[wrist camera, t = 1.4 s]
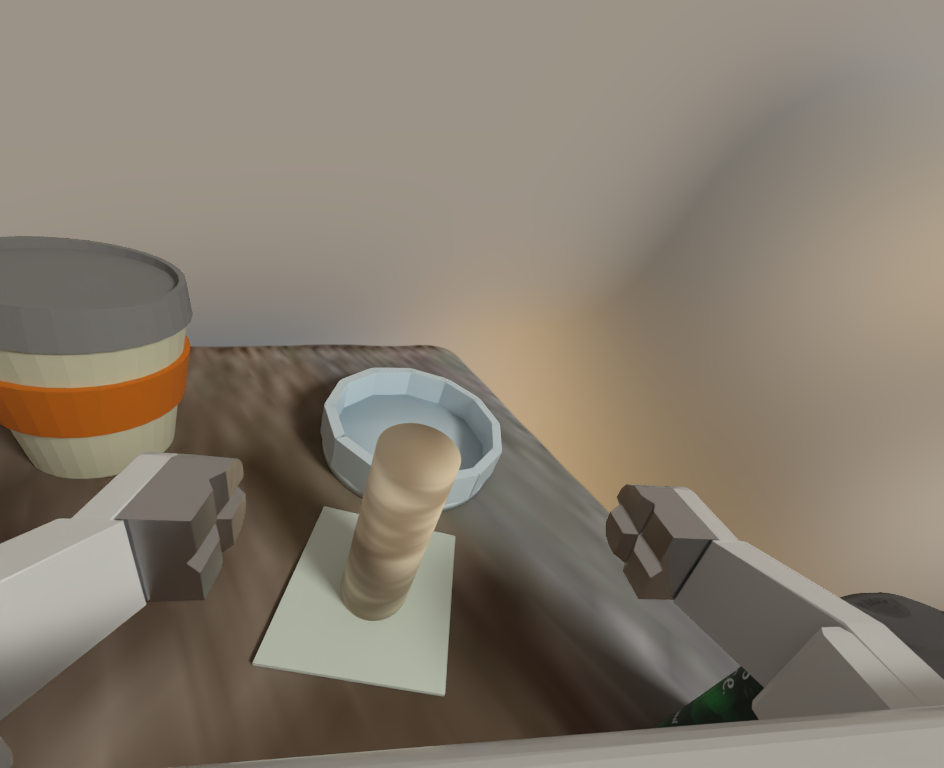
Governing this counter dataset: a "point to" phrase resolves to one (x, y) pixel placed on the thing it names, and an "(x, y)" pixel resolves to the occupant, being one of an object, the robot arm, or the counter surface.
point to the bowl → (407, 401)
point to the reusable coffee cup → (90, 352)
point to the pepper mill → (397, 517)
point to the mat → (356, 640)
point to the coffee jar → (914, 623)
